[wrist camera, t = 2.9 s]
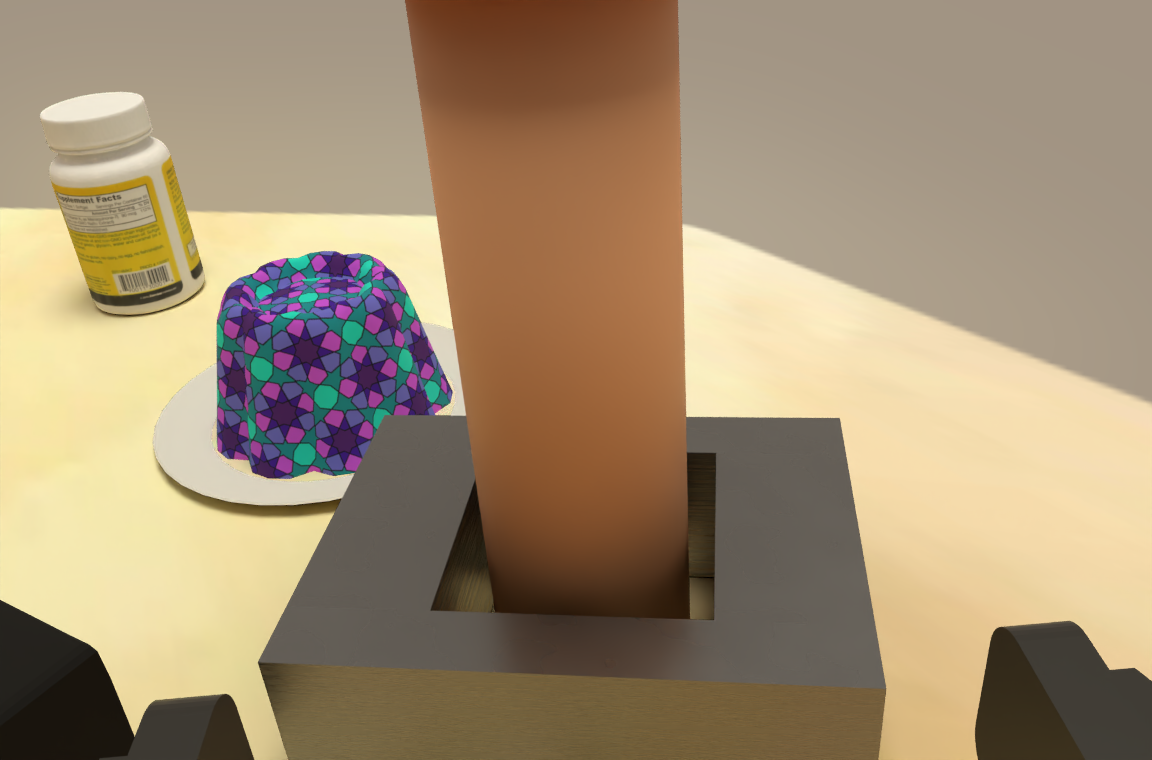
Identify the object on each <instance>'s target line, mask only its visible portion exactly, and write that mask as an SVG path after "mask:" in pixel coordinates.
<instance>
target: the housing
mask: <svg viewBox="0 0 1152 760" xmlns="http://www.w3.org/2000/svg"><path fill="white" fill-rule="evenodd" d="M686 442H687V493H688V544H689V576H698V577H715V593H714V620H691V619H662V618H632V617H603V616H574V615H544V614H515V613H491V610H492V606H493V595H492V588H491V581H490V575H489V568H488V561H487V554H486V547H485V541H484V534H483V527H482V520H481V513H480V507H479V500H478V493H477V486H476V479H475V473H474V466H473V459H472V452H471V445H470V439H469V432H468V425H467V418H466V416H450V415H384V417H383V419H382V421H381V423H380V425H379V427H378V429H377V431H376V433H375V435H374V437H373V439H372V441H371V443H370V445H369V447H368V449H367V451H366V452H365V454H364V456H363V458H362V460H361V462H360V464H359V466H358V468H357V470H356V472H355V474H354V476H353V478H352V480H351V482H350V484H349V486H348V488H347V490H346V491H345V493H344V495H343V497H342V499H341V501H340V503H339V505H338V507H337V509H336V511H335V513H334V515H333V517H332V519H331V521H330V523H329V525H328V527H327V529H326V530H325V532H324V534H323V536H322V538H321V540H320V542H319V544H318V546H317V548H316V550H315V552H314V554H313V556H312V558H311V560H310V562H309V564H308V566H307V568H306V570H305V571H304V573H303V575H302V577H301V579H300V581H299V583H298V585H297V587H296V589H295V591H294V593H293V595H292V597H291V599H290V601H289V603H288V605H287V607H286V609H285V610H284V612H283V614H282V616H281V618H280V620H279V622H278V624H277V626H276V628H275V630H274V632H273V634H272V636H271V638H270V640H269V642H268V644H267V646H266V648H265V650H264V651H263V653H262V655H261V657H260V659H259V661H258V664H259V667H260V671H261V674H262V677H263V680H264V683H265V687H266V690H267V693H268V696H269V699H270V703H271V706H272V709H273V712H274V715H275V719H276V722H277V725H278V728H279V731H280V735H281V738H282V741H283V744H284V747H285V750H286V754H287V757H288V760H878V756H879V748H880V739H881V730H882V721H883V713H884V704H885V695H886V685H885V679H884V673H883V667H882V661H881V656H880V650H879V644H878V638H877V632H876V626H875V621H874V615H873V609H872V603H871V597H870V592H869V586H868V580H867V574H866V568H865V562H864V557H863V551H862V545H861V539H860V533H859V528H858V522H857V516H856V510H855V504H854V498H853V493H852V487H851V481H850V475H849V469H848V464H847V458H846V452H845V446H844V440H843V434H842V429H841V423H840V418H739V417H686Z"/></svg>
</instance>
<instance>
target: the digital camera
mask: <svg viewBox="0 0 1152 760" xmlns="http://www.w3.org/2000/svg"><path fill="white" fill-rule="evenodd" d="M134 738H135V737H134V734H133V732H132V729H131V727H130V724H129V722H128V719H127V717H126V715H125V712H124V710H123V707H122V705H121V702H120V700H119V697H118V695H117V693H116V690H115V688H114V685H113V683H112V680H111V678H110V676H109V674H108V672H107V670H106V668H105V666H104V664H103V662H102V660H101V658H100V656H99V654H98V652H97V651H96V650H95V649H94V648H93V647H91V646H90V645H89V644H87V643H85V642H83V641H81V640H79V639H76V638H74V637H72V636H70V635H68V634H66V633H64V632H62V631H60V630H58V629H56V628H54V627H53V626H51V625H49V624H47V623H45V622H43V621H41V620H39V619H37V618H35V617H33V616H31V615H29V614H27V613H25V612H23V611H21V610H19V609H17V608H15V607H13V606H11V605H9V604H7V603H5V602H3V601H1V600H0V760H99V759H100V758H110V757H121V756H128V753H129V750H130V748H131V745H132V743H133V740H134Z"/></svg>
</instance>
